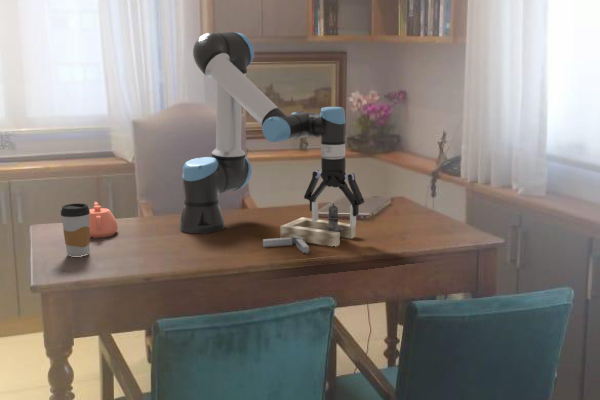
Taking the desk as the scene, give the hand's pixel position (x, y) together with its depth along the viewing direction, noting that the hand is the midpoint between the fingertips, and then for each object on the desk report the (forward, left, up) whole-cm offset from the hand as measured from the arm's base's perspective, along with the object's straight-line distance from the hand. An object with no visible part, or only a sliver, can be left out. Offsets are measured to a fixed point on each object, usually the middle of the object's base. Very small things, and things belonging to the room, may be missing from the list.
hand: (333, 223), depth 235 cm
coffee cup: (-59, -52, -6) cm, 79 cm away
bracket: (-6, 0, -5) cm, 8 cm away
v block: (-8, -13, -5) cm, 16 cm away
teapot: (-72, -31, -6) cm, 78 cm away
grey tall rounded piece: (0, 0, -6) cm, 6 cm away
